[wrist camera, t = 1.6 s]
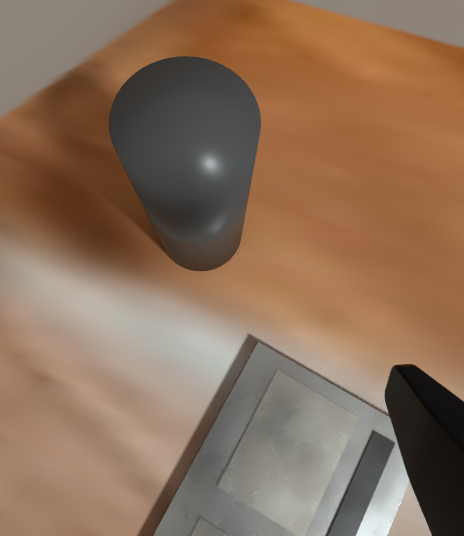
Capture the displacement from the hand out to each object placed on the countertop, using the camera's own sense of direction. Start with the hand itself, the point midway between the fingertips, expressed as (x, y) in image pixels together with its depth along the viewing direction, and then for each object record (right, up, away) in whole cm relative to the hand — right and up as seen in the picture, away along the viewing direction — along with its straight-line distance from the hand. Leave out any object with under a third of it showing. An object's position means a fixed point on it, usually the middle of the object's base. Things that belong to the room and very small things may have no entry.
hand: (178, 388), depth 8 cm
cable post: (-1, +5, +15) cm, 16 cm away
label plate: (+3, -11, +11) cm, 16 cm away
